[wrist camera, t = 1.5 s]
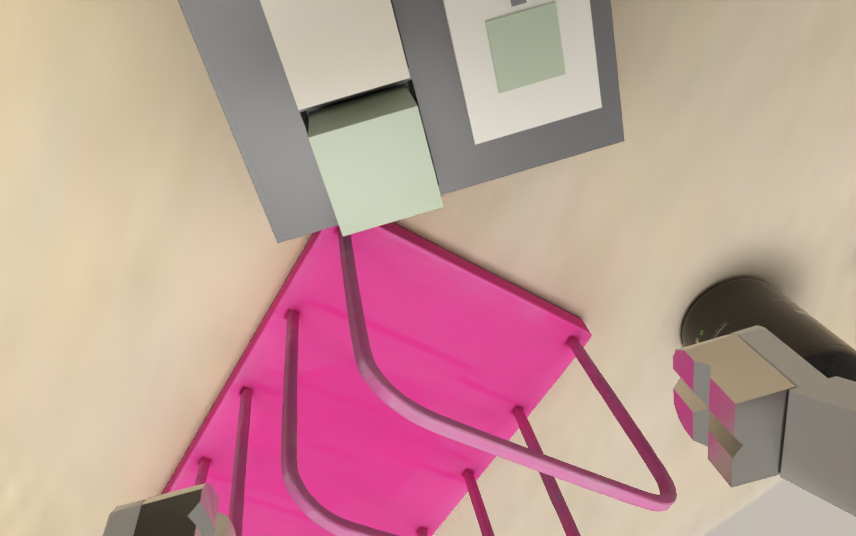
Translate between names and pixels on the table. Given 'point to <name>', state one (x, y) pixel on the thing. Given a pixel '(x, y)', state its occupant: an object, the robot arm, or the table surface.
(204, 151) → the table surface
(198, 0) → the keypad base
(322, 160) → the key sage
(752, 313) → the supplement bottle
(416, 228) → the table surface
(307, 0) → the block
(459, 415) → the file sorter
